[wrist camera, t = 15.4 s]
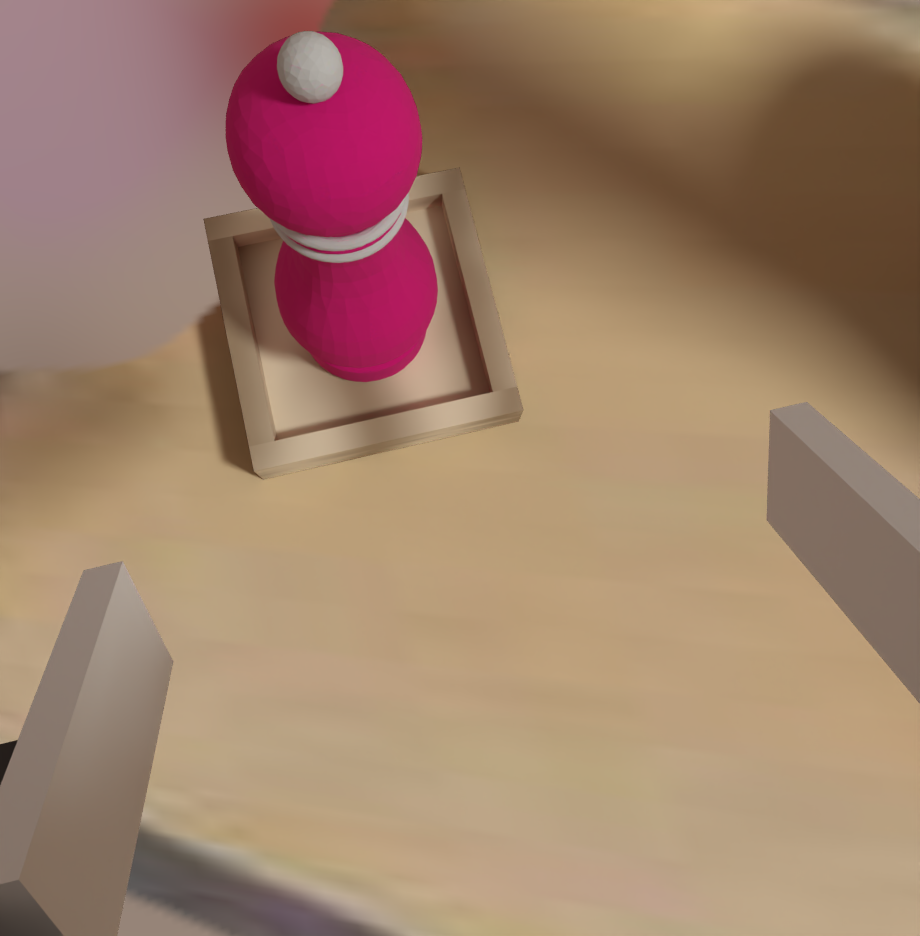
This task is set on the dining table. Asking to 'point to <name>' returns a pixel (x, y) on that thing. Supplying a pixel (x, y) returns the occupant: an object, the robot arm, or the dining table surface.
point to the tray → (377, 402)
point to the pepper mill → (337, 198)
